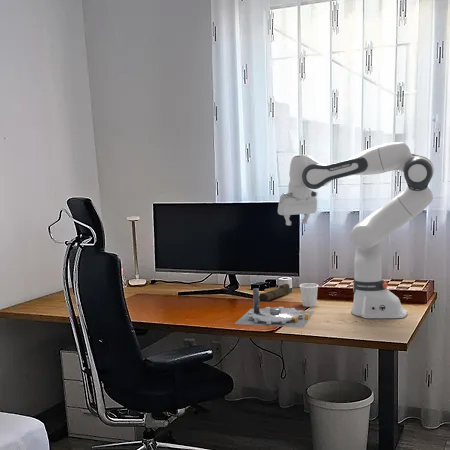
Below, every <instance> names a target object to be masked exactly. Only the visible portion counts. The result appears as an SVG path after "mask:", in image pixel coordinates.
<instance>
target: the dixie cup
mask: <svg viewBox="0 0 450 450" xmlns="http://www.w3.org/2000/svg"><path fill="white" fill-rule="evenodd" d="M299 289H300V295H301V303H302V306H303V307H307V308H308V307H309V308H311V307H312V308H313V307H316V306H317V300H318V289H319V284H318V283H308V282H307V283H301V284H300V285H299Z"/></svg>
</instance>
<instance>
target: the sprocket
mask: <svg viewBox="0 0 450 450" xmlns="http://www.w3.org/2000/svg"><path fill="white" fill-rule="evenodd" d="M259 295H260V290H259V288H252V296H253V297H252V300H253V309H254V311H253V312H249V313H248V319H249V320H254V322H255V323H259V322H261V323H267V324H272V323H273V324H275V323H281V324H286V323H287V322H297V321H298V319H303V312H302V311H303V310H297V309H296V308H295V307H284V306H276V307H275V306H273V307H270V306H266V307H264V308H260V300H259Z"/></svg>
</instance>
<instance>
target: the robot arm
mask: <svg viewBox="0 0 450 450" xmlns="http://www.w3.org/2000/svg"><path fill="white" fill-rule="evenodd" d="M391 171H401V172H402V173H403V177H404V180H405V182H406V184H407V187H406V188H405V189H404V190H403V191H401V192H400V193H399V194H397V195H395V196H394V197H393V198H391V199H390V200H389V201H387V202H386V203H384V204H383V205H381V206H380V207H379V208H378V209H376V210H375V211H374V212H372V213H371V214H370V215H368V216H367V217H365V218H363V219H362V220H361V221H359V222H358V223H357V224H355V225H354V226H353V228H352V230H350V231H351V232H350V240H351V243H352V244H353V246H355V254H354V260H353V263H354V264H353V267H354V271H353V273H354V275H353V276H354V278H353V283H352V285H353V286H352V288H353V289H352V291H353V293H354V294H353V302H352V308H351V311H350V313H351V314H352V315H354V316H358V317H362V318H364V319H403V318H406V317H407V315H408V314H407V313H408V311H407V309H405V308H403V307H402V304H401V300H400V298H399V297H398V296H397V295H395V294H394V293H393V292H391V290H389V289H388V283H387V281H386V280H384V279H382V277H383V276H382V275H383V274H382V256H383V245H384V239H386V238H387V237H389V236H390V235H391V234H392V233H394V232H396V231H397V230H398V229H401V227H402V226H404V225H405V224H407V223H408V222H410V221H411V220H412V219H414V218H415V217H417V216H418V215H419V214H421V213H422V212H423V211H424V210H425V209H427V207H428V206H430V204H431V203H432V202H433V199H434V198H433V192H432V190H431V189H430V188H429V184H430V182H431V181H432V178H433V177H434V172H435V168H434V164H433V162H432V161H431V159H429V158H427V157H425V156H422V155H419V154H414V153H411V149H410V148H409V146H408V145H407V144H406V143H405V142H403V141H400V142H399V141H398V142H390V143H389V142H388V143H383V144H381V145H380V144H379V145H377V146H373V147H370V148H368V149H366V150H364V151H361V152H360V153H358V154H357V155H355V156H352V157H350V158H348V159H346V160H342V161H339V162H334V163H330V164H326V163H323V162H320V161H318V160H316V159H314V158H313V157H312V156H311V155H309V154H299V155H295V156H293V157H292V158H291V160H290V165H289V183H288V190H287V192H284V193H282V194H281V195H279V196H280V197H279V202H278V206H277V214H278V215H280V216H283V218H284V219H285V225H286V226H292V221H291V220H290V218H291V216H293V215H303V218H302V219H301V224H303V225H307V223H308V219H309V217H310V214H316V212H317V211H318V210H317V209H318V198H317V197H318V192H317V191H316V190H317V189H320V188H322V187H325V186H327V185H329V184H330V183H331V182H332V181H333V180H337V179H341V178H344V177H345V178H346V177H349V176H356V175H357V176H361V175H362V176H364V175H369V176H370V175H380V174H384V173H387V172H391Z"/></svg>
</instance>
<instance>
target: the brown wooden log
mask: <svg viewBox="0 0 450 450" xmlns="http://www.w3.org/2000/svg"><path fill="white" fill-rule="evenodd" d="M290 293H291V288H290V284H289V283H284V284H279V286H278V288H275V289H272V290H269V291H266V292H263V293H262V292H261V293H260V292H259V302H263V303H266V302H270V301H272V300H274V299H277V298H280V297H286V296H288V295H289V294H290Z"/></svg>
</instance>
